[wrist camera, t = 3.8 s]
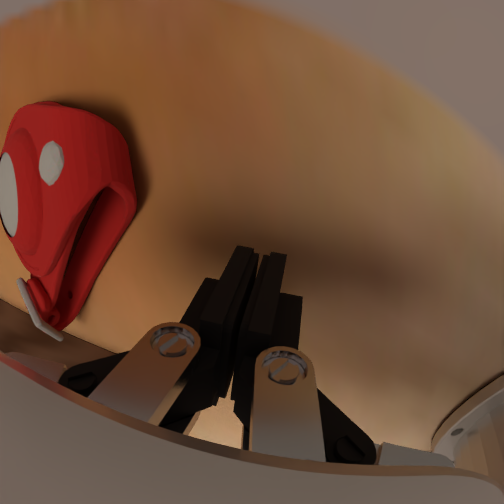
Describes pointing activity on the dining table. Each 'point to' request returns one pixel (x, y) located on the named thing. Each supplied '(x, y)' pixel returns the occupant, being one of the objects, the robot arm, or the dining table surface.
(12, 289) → the dining table surface
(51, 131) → the tracker holder
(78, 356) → the frame
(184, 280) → the dining table surface
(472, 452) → the robot arm
